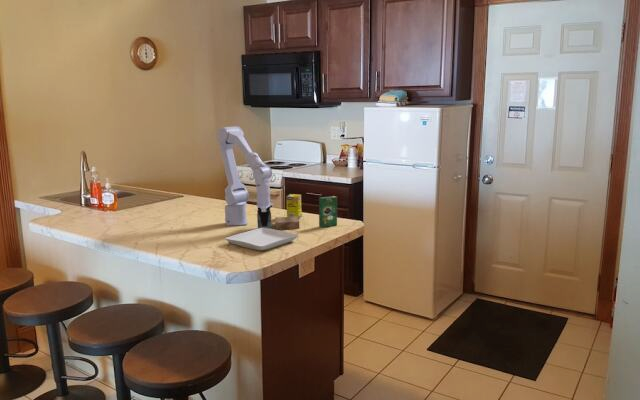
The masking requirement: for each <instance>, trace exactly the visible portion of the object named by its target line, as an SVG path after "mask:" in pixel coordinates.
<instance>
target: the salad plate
mask: <svg viewBox="0 0 640 400" xmlns="http://www.w3.org/2000/svg"><path fill="white" fill-rule="evenodd" d="M298 237H299V234H297V233H293V232H290V231H289V232H288V231H283V230H281V229H274V228H272V229H269V228H259V229H258V228H256V229H252V230H248V231H244V232H240V233H237V234H233V235H231V236H230V235H229V236H227V237H225V241H227V242H229V243H230V244H233V245H236V246H239V247H242V248H247V249H250V250H251V249H252V250H254V251H255V250H256V251H268V250H270V249H274V248H276V247H279V246H282V245H285V244H288V243H290V242H293V241H294V240H296V239H297V238H298Z"/></svg>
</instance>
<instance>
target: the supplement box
mask: <svg viewBox="0 0 640 400" xmlns="http://www.w3.org/2000/svg"><path fill="white" fill-rule="evenodd" d="M285 199H286V217H297V216H298V219H299V220H300V218H302V217H303V216H302V214H303V213H302V194H298V193H297V194H295V193H293V194H292V193H289V194H288V195H286V197H285Z"/></svg>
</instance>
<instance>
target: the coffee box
mask: <svg viewBox="0 0 640 400" xmlns="http://www.w3.org/2000/svg"><path fill="white" fill-rule="evenodd" d="M318 225H319V228H327V227H335V226H338V196H335V195H332V196H321V197H318Z"/></svg>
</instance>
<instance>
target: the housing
mask: <svg viewBox="0 0 640 400" xmlns="http://www.w3.org/2000/svg"><path fill="white" fill-rule="evenodd" d="M256 218H257V220H256V221H257V229H259V228H269V229H273V228H272V225H273V224H272V223H273V222H272V212H271V211H270V214H269V217H268V224H267V226H262V224H261V219H260V216H259V214H258V212H257V213H256Z"/></svg>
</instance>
